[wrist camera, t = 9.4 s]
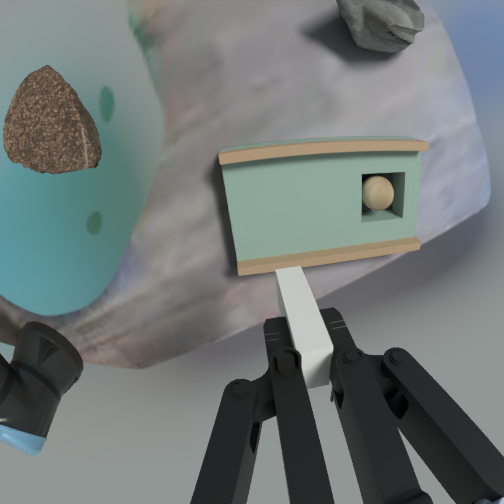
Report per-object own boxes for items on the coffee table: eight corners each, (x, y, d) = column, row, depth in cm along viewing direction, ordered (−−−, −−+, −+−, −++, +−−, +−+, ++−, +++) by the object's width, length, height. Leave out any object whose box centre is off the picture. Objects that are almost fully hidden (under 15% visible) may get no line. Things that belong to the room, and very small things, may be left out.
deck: (238, 255, 35) (238, 276, 31) (221, 148, 29) (218, 154, 25) (402, 233, 34) (419, 249, 30) (407, 136, 28) (428, 142, 24)
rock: (128, 141, 23) (48, 214, 20) (108, 146, 31) (49, 200, 28) (65, 43, 15) (-23, 115, 12) (60, 73, 23) (-3, 127, 20)
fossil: (328, 53, 24) (356, 38, 17) (311, -13, 20) (332, -43, 13) (412, 58, 23) (452, 51, 16) (396, -4, 19) (431, -22, 12)
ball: (354, 205, 32) (369, 217, 29) (354, 172, 30) (370, 181, 27) (382, 202, 32) (399, 214, 29) (383, 171, 30) (401, 179, 27)
